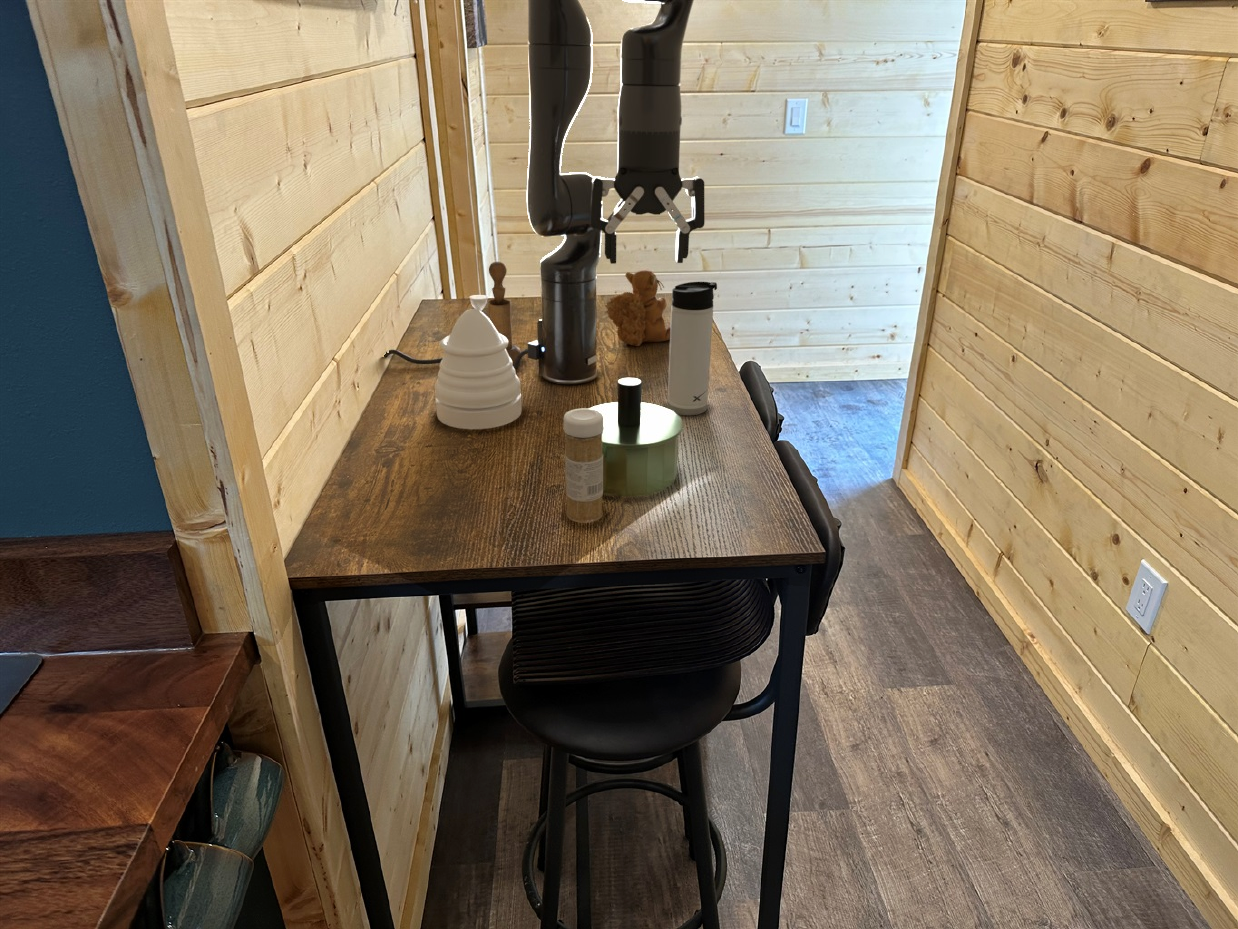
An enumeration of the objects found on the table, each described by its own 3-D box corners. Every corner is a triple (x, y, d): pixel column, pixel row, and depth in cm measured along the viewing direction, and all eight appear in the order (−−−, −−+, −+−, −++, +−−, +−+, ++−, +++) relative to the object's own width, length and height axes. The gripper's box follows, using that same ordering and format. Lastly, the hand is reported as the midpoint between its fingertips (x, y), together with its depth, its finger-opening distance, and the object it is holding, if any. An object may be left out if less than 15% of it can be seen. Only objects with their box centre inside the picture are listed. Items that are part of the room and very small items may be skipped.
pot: (545, 488, 106) (543, 436, 103) (627, 441, 119) (628, 393, 116) (626, 519, 99) (627, 463, 96) (704, 465, 112) (707, 415, 109)
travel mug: (707, 417, 127) (715, 289, 118) (664, 414, 128) (669, 286, 119) (711, 402, 133) (719, 278, 124) (670, 399, 134) (675, 276, 125)
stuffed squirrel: (680, 335, 164) (683, 269, 158) (640, 354, 154) (641, 283, 148) (638, 326, 169) (640, 262, 163) (597, 344, 159) (597, 275, 153)
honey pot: (463, 395, 134) (455, 285, 126) (535, 406, 131) (531, 293, 123) (420, 425, 123) (408, 306, 115) (498, 437, 120) (491, 316, 112)
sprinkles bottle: (593, 505, 102) (593, 404, 96) (609, 522, 99) (610, 418, 93) (559, 512, 100) (557, 410, 94) (574, 530, 97) (572, 425, 91)
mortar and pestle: (504, 371, 145) (499, 268, 137) (476, 364, 148) (469, 263, 140) (528, 360, 150) (524, 261, 142) (500, 354, 153) (494, 256, 145)
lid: (553, 434, 105) (551, 385, 102) (616, 401, 115) (617, 356, 112) (642, 463, 98) (644, 411, 95) (702, 425, 108) (705, 377, 105)
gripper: (703, 124, 103) (696, 255, 110) (588, 123, 102) (589, 256, 109) (713, 129, 96) (705, 268, 103) (591, 128, 95) (591, 269, 102)
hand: (645, 262), depth 106 cm, fingers open, 8 cm apart
